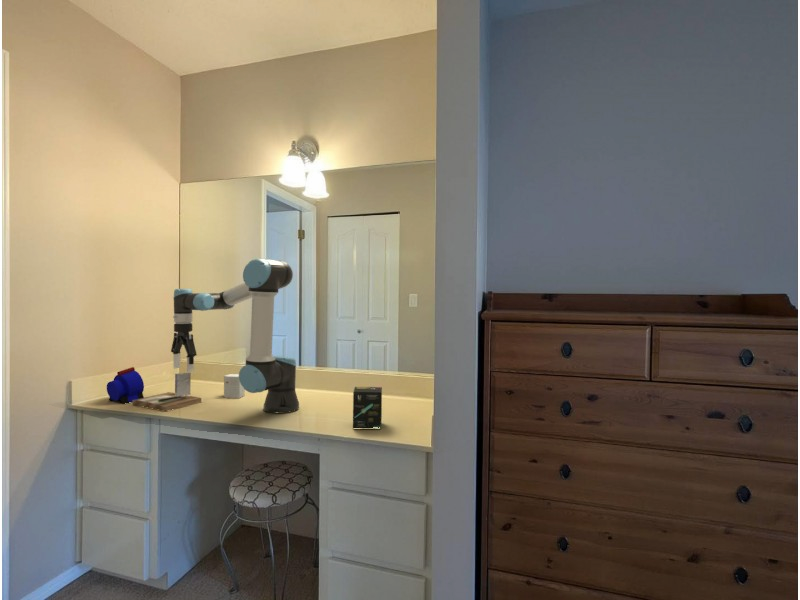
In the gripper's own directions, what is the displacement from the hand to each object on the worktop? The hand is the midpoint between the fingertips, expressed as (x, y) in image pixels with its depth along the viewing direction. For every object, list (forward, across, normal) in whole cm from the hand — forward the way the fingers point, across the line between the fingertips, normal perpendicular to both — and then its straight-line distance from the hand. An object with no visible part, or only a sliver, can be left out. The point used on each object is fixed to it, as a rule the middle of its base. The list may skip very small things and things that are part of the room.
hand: (183, 369), depth 205 cm
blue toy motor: (+15, -23, -16) cm, 32 cm away
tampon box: (+17, +84, +34) cm, 92 cm away
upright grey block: (+12, -1, -4) cm, 13 cm away
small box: (+16, +5, +22) cm, 27 cm away
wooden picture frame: (+15, -4, -5) cm, 17 cm away
